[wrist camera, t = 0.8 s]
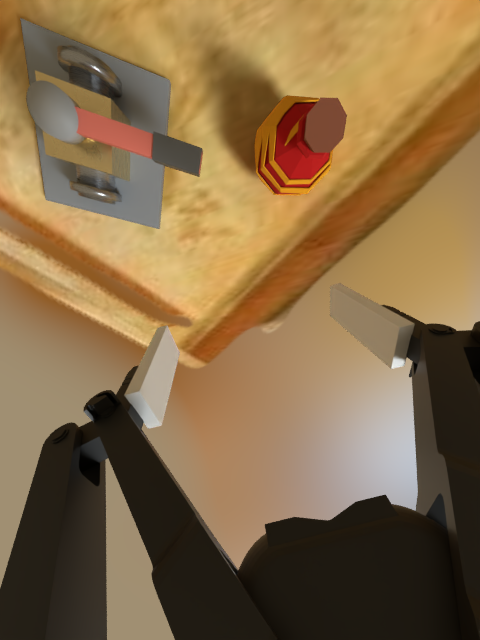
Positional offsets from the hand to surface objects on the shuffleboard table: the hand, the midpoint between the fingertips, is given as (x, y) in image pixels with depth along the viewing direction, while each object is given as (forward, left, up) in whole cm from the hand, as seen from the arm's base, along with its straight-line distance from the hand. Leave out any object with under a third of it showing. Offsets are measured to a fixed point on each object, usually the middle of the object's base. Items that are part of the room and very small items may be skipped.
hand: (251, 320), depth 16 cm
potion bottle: (-16, +4, -25) cm, 30 cm away
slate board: (-11, -21, -25) cm, 34 cm away
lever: (-11, -15, -16) cm, 25 cm away
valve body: (-11, -21, -25) cm, 34 cm away
